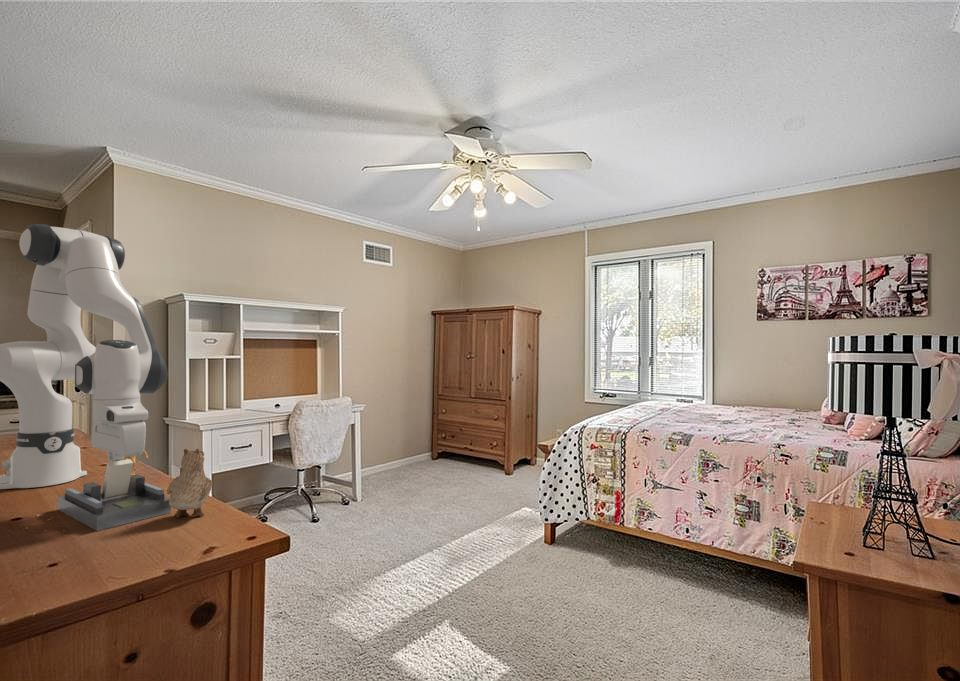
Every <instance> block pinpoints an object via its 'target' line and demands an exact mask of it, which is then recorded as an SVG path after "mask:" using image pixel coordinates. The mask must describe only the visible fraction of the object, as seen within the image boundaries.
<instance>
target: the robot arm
mask: <svg viewBox="0 0 960 681" xmlns="http://www.w3.org/2000/svg"><path fill="white" fill-rule="evenodd" d="M18 241H19V242H18V243H19V248H20V249H19V250H20V254H21V256H22V257H23V258H24V259H25V260H26V261H27V262H29V263H31V264H34V265H36V267H35V269H34V272H33V276H32V279H31V283H30V284H31V285H30V289H29V290H30V292H29V297H28V306H27V317H28V319H29V320H30V322H32V323H33V324H35V325H36V326H38V327H40V328H42V329H43V330H45V332H46V338H47V339H46V341H42V340H41V341H39V340H38V341H37V340H33V341H32V340H19V341H10V342H4V343H0V382H1V383H3V384H4V385H5V386H6V387H7V388H8V389H10V391H11V392H12V394H13V395H14V397H15V399H16V401H17V406H18V419H19V422H18V425H19V426H18V427H19V431H18V432H17V434H16V437H15V441H16V442H15V446H16V447H15V449H14V450H13V452H12V453H11V455H10V457H9V459H5V460H3V461H1V470H3V471H5V472H4V474H0V490H7V489H9V490H10V489H29V488H30V489H31V488H42V487H48V486H55V485H60V484H64V483H68V482H71V481H74V480H77V479H78V478H81V477H84V476H87V475H88V471H87V470H82V466H81V464H82V462H81V448H80V447H79V446H78V445H76V444H75V443H74V441H75V428H73V402H72V401H71V399H69V398H68V397H67V396H66V395H63V394H60V393H58V392H56V391H55V390H54V388H53V385H52V381H63V380H64V381H65V380H67V381H68V380H74V386H75V388H77V389H78V390H80V391H81V392H83V393H84V394H87V395H88V394H89V395H93V397H92V423H91V436H90V443H91V446H92V448H95V449H98V450H102V451H104V452H107V456H106V457H107V459H108V462H114V461H120V460H124V458H125V457H129V456H140V455H143V454H144V452H143V451H144V450H145V449H146V448H145V447H146V437H147V435H146V434H147V426H146V425H147V424H146V422H145V421H147V420H148V419H149V411H148V410H147V409H146V407H144V405H143V404H142V402H141V394H154V393H155V392H157V391H159V390H160V389H161V388H162V387H163V386H164V385H165V384H166V383H167V380H168V374H169V373H168V368H167V364H166V362H165V360H164V358H163V356H162V355H161V353H160V350H159V349H158V345H157V343H156V341H155V338H154V335H153V332H152V329H151V327H150V324H149V321H148V319H147V316H146V314H145V312H144V309H143V306H142V305H141V303H140V301H139V300H138V299H137V298H135V297H133V296H132V295H131V294H130V293H129V292H128V291H127V290H126V288H125V286H124V285H123V283H122V280H121V274H120V270H121V269H122V267H123V266H124V262H125V260H126V258H125V257H126V251H125V247H124V245H123V244H122V242H121V241H119V240H117V239H116V238H113V237H110V236H108V235H104V236H103V235H100V234H98V233H94V232H92V231H91V232H90V231H86V230H83V229H73V228H69V227H68V228H67V227H59V226H50V225H49V224H40V223H35V224H30V225H29V226H27V227H25V228H24V229H23V232H22V233H21V235H20V237H19V240H18ZM82 310H84V311H85V312H88V313H90V314H94V315H97V316H101V317H103V318H106V319H109V320H112V321H114V322H116V323H118V324H120V325H122V326H123V327H124V328H125V329H126V331H127V333H128V335H129V336H128V337H129V338H130V341H129V340H122V339H108V340H107V339H106V340H102V341H99V342H98V343H97V344H96V346H95V345H93V344H92V343H91V342H90V341H89V340H88V339H87V338H86V336H85V333H84V331H83V328H82V324H81V317H82V316H81V314H82Z"/></svg>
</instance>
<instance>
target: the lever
mask: <svg viewBox="0 0 960 681" xmlns="http://www.w3.org/2000/svg"><path fill="white" fill-rule="evenodd" d="M132 467H133V462H132V461H131V459H127V460H120V461H114V462H109V461H107V464H106V470H105V475H104V481H103V486H102V488H103V490H102V493H101V499H106V498H111V497H116V496H120V495H125V494H128V487H129V482H130V477H131V472H132Z"/></svg>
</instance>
